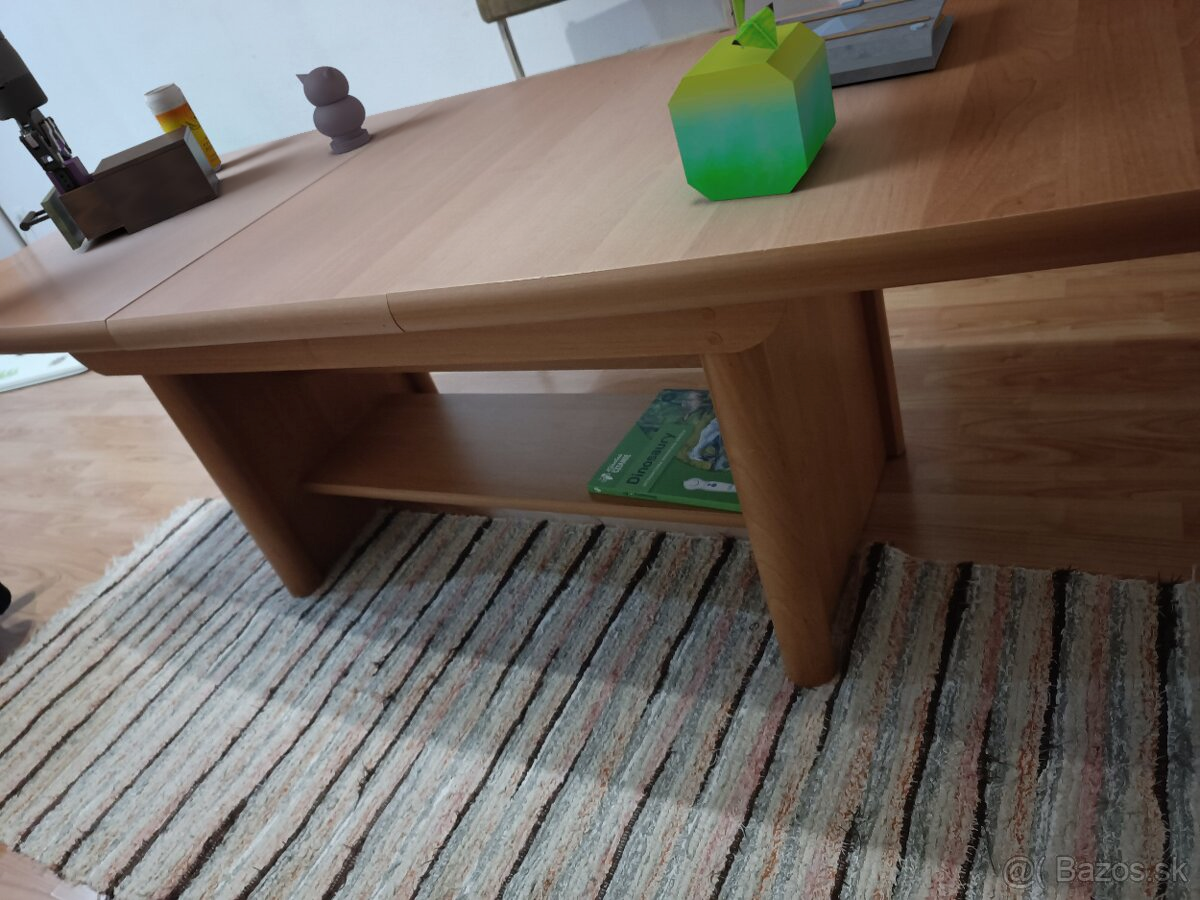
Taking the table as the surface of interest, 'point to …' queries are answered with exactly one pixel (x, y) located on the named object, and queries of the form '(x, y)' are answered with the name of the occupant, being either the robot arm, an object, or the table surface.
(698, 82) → the apple
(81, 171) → the block
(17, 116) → the robot arm
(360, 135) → the cat figurine
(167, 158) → the cabinet
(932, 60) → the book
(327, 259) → the table surface
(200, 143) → the beer can
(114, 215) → the drawer
